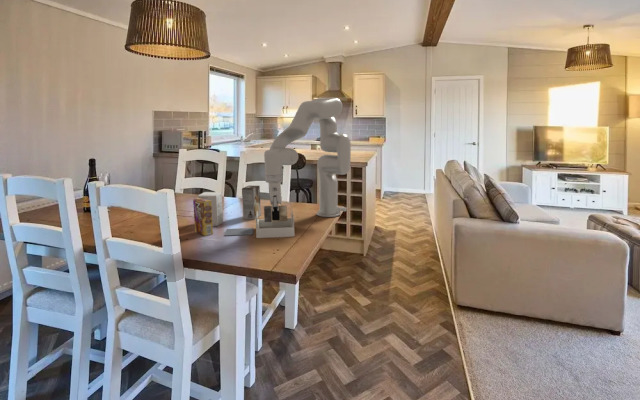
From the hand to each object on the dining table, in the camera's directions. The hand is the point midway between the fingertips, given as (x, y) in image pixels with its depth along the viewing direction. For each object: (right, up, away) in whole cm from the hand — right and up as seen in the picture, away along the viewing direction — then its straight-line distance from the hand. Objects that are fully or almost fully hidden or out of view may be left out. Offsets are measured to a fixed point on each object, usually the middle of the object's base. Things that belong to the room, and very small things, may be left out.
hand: (275, 217), depth 172 cm
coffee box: (-15, -1, +27) cm, 31 cm away
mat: (-16, -6, 0) cm, 18 cm away
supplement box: (-33, -4, +15) cm, 36 cm away
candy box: (-32, -7, -1) cm, 33 cm away
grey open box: (0, -6, +1) cm, 6 cm away
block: (0, -1, 0) cm, 1 cm away
